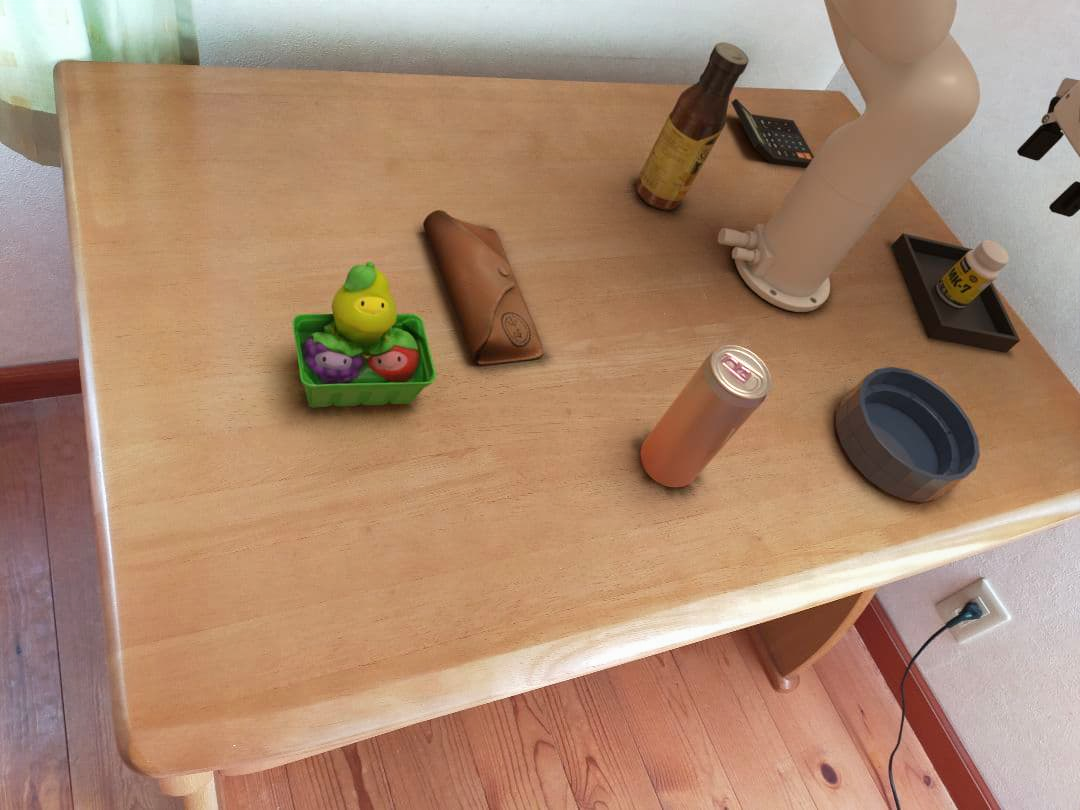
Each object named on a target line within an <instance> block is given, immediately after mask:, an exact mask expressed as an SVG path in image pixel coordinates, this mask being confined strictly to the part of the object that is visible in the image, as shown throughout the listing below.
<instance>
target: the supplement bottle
mask: <svg viewBox="0 0 1080 810" xmlns="http://www.w3.org/2000/svg"><path fill="white" fill-rule="evenodd" d="M1009 262H1010V255H1009V253H1008V252H1007V250H1006V249H1005V248H1004V247H1003V246H1002V245H1000V244H999V243H998V242H995V241H994V240H989V239H984V240H982V242H980V243H979V244H978V245H977V246H976V247H975V248H974V250H970V251H969V252H967V253H966V254H965V255H964V256H963V257H962V258H961V259H960V260H959V261H958V262H957V263H956V264H955V265H954V266H953V267H952V268H951V269H950V270H949V271H948V272H947V273H946V274H945V275H944V276H943V278H941V279H940V280H939V282H938V283H937V285H936V289H937V292H938V294H939V296H940V297H941V298H942V299H943V300H944V301H945V302H946V303H948V304H949V305H951V306H953V307H956V308H963V307H966V306H967V305H968V304H969V303H970V302H971V301H972V300H973V299H974V298H976V297H977V296H978V295H979V294H980V293H981V292H982V291H983V290H984V289H985V288H986V287H987V286H988V285H989V284H990V283H991V282H992V283H993V282H994V281H995V280H996V279H997V278H998V277H999V275H1000V271H1001V270H1002V269H1004V267H1005V266H1006V265H1007V264H1008V263H1009Z"/></svg>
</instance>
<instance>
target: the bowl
mask: <svg viewBox="0 0 1080 810" xmlns="http://www.w3.org/2000/svg"><path fill="white" fill-rule="evenodd" d="M835 413H836V414H835V429H836V433H837V436H838V439H839V442H840V445H841V447H842V449H843V450H844V452H845V454H846V456H847V457H848V459H849V461H850V462H851V464H852V465H853V466H854V467H855V468H856V469H857V470H858V471H859V472H860V473H861V474H862V476H864V477H865V479H867V480H868V481H869V482H871V483H872V484H874V485H875V486H876V487H878V488H879V489H881V490H882V491H884V492H885V493H887V494H889V495H891V496H894V497H896V498H898V499H902V500H904V501H910V502H918V503H926V502H928V501H933V500H937V499H939V498H940V497H942V496H943V495H944V494H946V493H947V492H949V491H950V490H951V489H952V488H954V487H955V486H957V485H958V484H959V483H960V482H962V481H963V480H964V479H966V478H967V477H968V476H969V475H971V474H972V473H973V472H974V471H975V470H976V468H977V465H978V462H979V460H980V456H981V453H980V443H979V438H978V435H977V432H976V430H975V428H974V426H973V423H972V421H971V420H970V418H969V417H968V415H967V414H966V412H965V411H964V410H963V408H962V407H961V405H960V403H958V402H957V401H956V400H955V398H953V397H952V395H950V394H949V393H948V392H947V391H946V389H944V388H942V387H941V386H940V385H938V384H937V383H935V382H933V381H932V380H931V379H929V378H928V377H927V376H924V375H922V374H919V373H917V372H915V371H912V370H910V369H907V368H902V367H895V366H887V367H881V368H876V369H875V370H873V371H871V372H870V373H868V374H867V375H866V376H864V377H863V378H862V380H860V382H859V383H857V385H855V386H854V387H853V388H852V389H851V390H850V391H849V393H848V394H847V395H845V396H844V397H843V398H842V399H841V401H840V404H839V405H838V406H837V409H836V410H835Z"/></svg>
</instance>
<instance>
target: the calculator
mask: <svg viewBox="0 0 1080 810" xmlns="http://www.w3.org/2000/svg"><path fill="white" fill-rule="evenodd" d="M731 105H732V108H733V109H734V111H735V113H736V115H737V117H738V119H739V121H740V123H741V125H742V127H743V128H744V131H745V133H746V134H747V136H748V138H749V140H750V142H751V144H752V146H753V148H755V150H756V151H758V153H760V154H761V156H763V157H764V158H765V159H766V160H767V161H768V162H769V163H770V164H774V165H780V166H781V165H782V166H788V167H798V168H805V169H806V168H807V167H808V165H809V164H810V162H811V161H812V160H813V158H814V157H815V155H814V154H813V152H812V151H811V149H810V147H809V145H808V144H807V142H806V140H805V138H804V137H803V134H802V133H801V132H800V131H801V130H799V128H798V126H797V124H796V122H795V121H794V120H793V119H788V118H787V119H786V118H779V117H774V116H767V115H766V116H765V115H759V114H753V113H751V112H750V111H749V110H748V109H747V108H746V107H745V106H744V105H743V104H742V103H741V102H740V101H739V100H738V99H737V98H734V99H733V100H732V101H731Z"/></svg>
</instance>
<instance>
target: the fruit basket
mask: <svg viewBox="0 0 1080 810" xmlns="http://www.w3.org/2000/svg"><path fill="white" fill-rule="evenodd" d="M375 267H376V265H375V263H374V262H371V261H367V262H366V264H356V265H354V266H352V267H351V268H350V269H349V271H348V273H347V275H346V278H345V282H344V283H343V285H341V286H340V288H339V289H338V290H337V291H336V293H335V294H334V297H333V298H332V299H333V300H332V302H331V313H300V314H297V315H295V316H294V317H293V318H292V321H291V323H292V330H293V336H294V342H295V349H296V355H297V361H298V371H299V378H300V381H301V384H302V386H303V388H304V392H305V395H306V401H307V405H308V406H309V407H310V408H311V409H312V408H328V407H331V406H335V407H356V406H359V405H364V406H383V405H386V404H392V405H409V404H410V403H411V402H413V400H414V399H415V398H416V397H417V396H418V395H419V394H420V393H421V392H422V391H423V390H424V389H425V388H426V387H427V388H428V387H429V386H430V385H431V384H432V383H434V381H435V380H436V379H437V373H436V369H435V364H434V361H433V357H432V356H433V355H432V353H431V350H430V344H429V340H428V336H427V332H426V327H425V323H424V320H423V318H421V317H420V316H419V315H418V314H415V313H398V311H397V305H396V302H395V299H394V297H393V295H392V293H391V289H390V288H391V287H390V282H389V278H388V277H387V276H386V274H384V273H383V272H382V271H380V270H379V269H378V268H375Z"/></svg>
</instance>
